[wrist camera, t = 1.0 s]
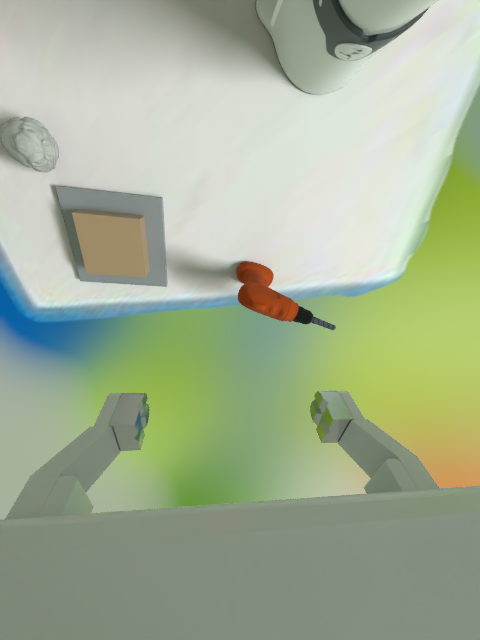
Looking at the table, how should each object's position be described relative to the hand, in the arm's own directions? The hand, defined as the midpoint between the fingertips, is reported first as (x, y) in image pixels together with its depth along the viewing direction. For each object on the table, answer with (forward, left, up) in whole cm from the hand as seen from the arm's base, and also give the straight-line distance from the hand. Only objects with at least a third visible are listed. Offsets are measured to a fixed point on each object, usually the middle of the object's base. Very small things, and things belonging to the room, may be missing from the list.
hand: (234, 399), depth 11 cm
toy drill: (+10, +12, -39) cm, 42 cm away
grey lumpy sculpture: (-9, -26, -39) cm, 47 cm away
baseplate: (+4, -18, -38) cm, 43 cm away
